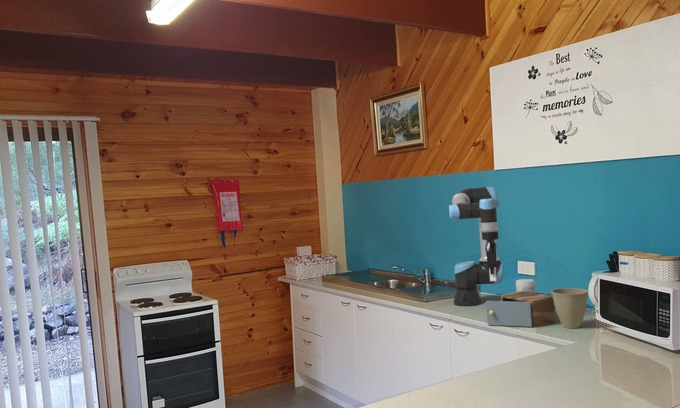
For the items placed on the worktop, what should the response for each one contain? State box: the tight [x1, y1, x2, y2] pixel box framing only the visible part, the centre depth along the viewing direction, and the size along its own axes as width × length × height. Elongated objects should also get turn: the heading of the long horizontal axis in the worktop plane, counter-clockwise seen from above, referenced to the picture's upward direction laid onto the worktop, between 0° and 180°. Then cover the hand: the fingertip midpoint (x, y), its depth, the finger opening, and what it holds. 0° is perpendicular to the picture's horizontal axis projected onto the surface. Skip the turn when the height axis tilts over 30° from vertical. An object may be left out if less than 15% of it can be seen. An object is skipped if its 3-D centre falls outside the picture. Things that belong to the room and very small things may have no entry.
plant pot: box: [551, 287, 589, 329], centre depth 239 cm, size 15×15×16 cm
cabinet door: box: [485, 300, 533, 328], centre depth 246 cm, size 20×3×11 cm, turn 62°
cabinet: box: [500, 291, 557, 328], centre depth 254 cm, size 20×14×12 cm
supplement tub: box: [515, 278, 537, 293], centre depth 279 cm, size 10×10×15 cm
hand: (493, 280), depth 254 cm, fingers closed
